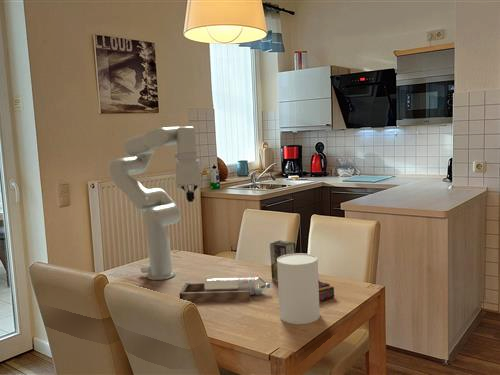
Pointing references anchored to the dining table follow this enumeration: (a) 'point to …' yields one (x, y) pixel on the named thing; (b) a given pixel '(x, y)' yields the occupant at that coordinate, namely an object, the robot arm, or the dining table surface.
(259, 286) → the water bottle
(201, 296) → the bottle rest
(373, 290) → the dining table surface
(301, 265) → the canister
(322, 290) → the decorative book
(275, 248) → the coffee box
